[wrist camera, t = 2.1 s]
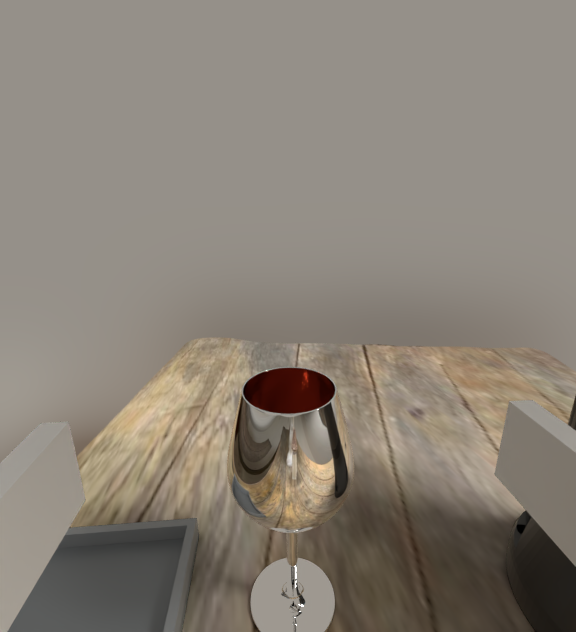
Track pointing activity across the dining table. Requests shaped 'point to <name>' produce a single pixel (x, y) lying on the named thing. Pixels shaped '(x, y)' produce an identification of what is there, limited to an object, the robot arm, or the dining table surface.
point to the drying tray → (115, 580)
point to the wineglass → (290, 486)
